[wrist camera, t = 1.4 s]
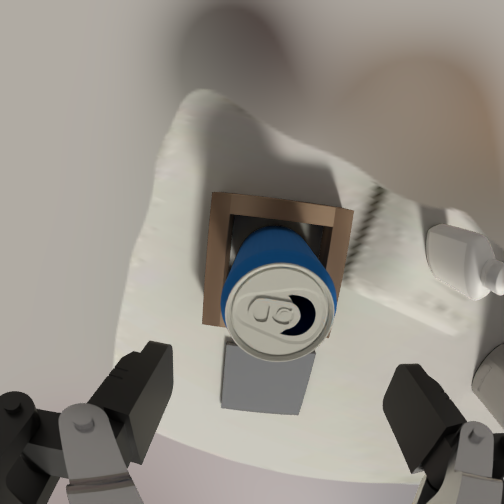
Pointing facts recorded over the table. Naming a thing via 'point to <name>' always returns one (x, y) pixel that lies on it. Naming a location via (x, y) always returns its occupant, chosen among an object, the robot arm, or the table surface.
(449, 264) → the eye dropper bottle
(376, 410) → the table surface
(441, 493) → the robot arm
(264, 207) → the walnut collar
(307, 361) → the rubber mat
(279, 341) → the beverage can
